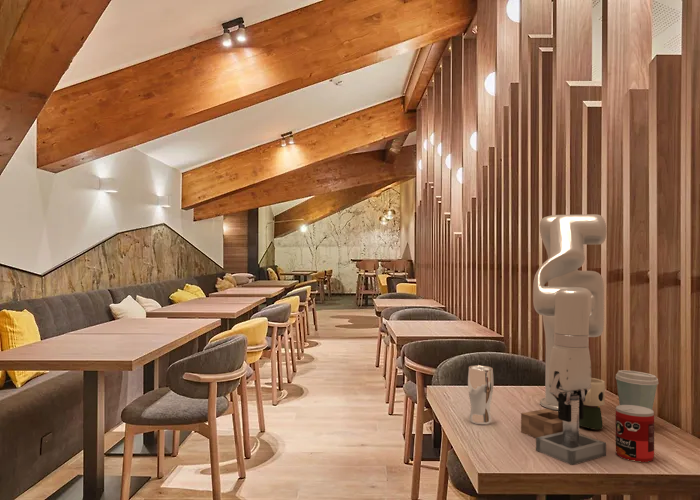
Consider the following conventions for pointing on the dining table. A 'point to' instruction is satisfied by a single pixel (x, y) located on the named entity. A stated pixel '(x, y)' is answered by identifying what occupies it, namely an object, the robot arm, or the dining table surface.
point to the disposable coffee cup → (636, 388)
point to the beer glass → (480, 393)
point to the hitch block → (541, 423)
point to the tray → (584, 452)
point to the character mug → (593, 405)
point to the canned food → (635, 433)
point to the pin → (572, 424)
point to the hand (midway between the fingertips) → (570, 418)
